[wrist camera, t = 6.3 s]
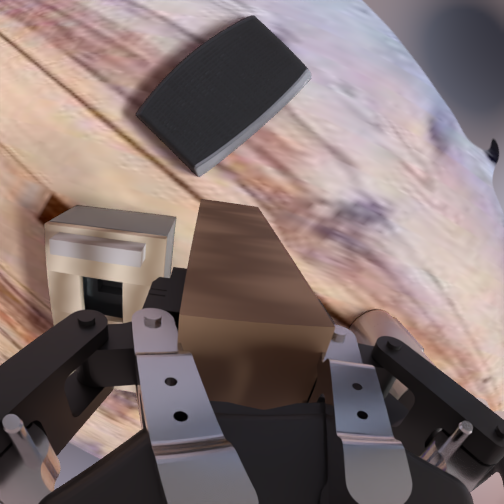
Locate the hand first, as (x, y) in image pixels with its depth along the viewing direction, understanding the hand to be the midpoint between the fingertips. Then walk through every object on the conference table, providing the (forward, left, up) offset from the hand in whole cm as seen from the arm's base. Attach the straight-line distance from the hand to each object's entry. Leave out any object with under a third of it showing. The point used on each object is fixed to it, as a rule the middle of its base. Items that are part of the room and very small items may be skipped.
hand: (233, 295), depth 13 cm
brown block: (0, 0, -10) cm, 10 cm away
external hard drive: (+2, -13, -28) cm, 31 cm away
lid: (+12, +15, -19) cm, 27 cm away
